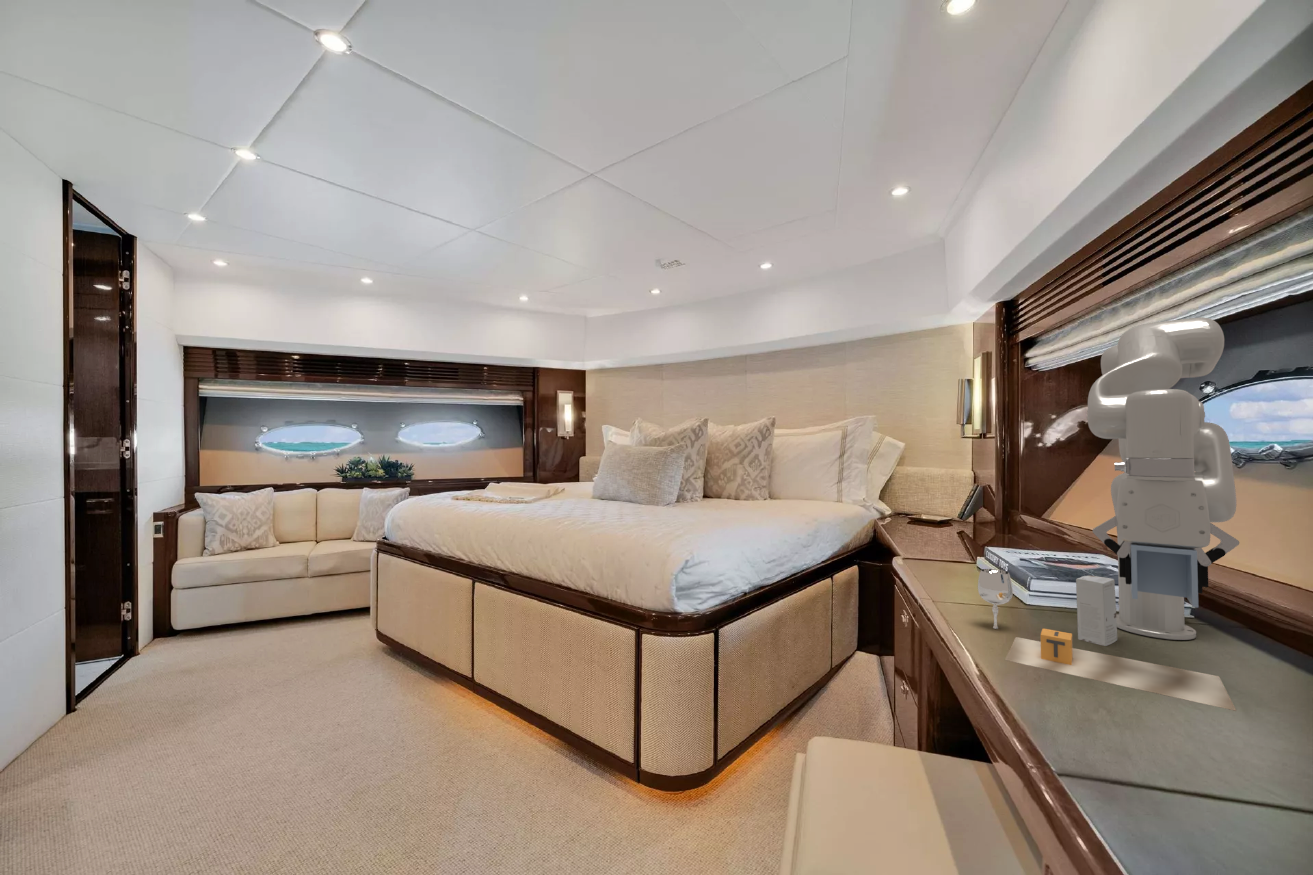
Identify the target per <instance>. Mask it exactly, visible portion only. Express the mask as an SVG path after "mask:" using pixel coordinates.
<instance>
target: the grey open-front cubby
mask: <svg viewBox="0 0 1313 875" xmlns="http://www.w3.org/2000/svg"><path fill="white" fill-rule="evenodd" d="M1130 558H1131V584H1130V590H1131V595H1132V599H1138V592H1137V591H1140V592H1148V593H1155V594H1163V595H1171V596H1178V597H1184V598H1187V601H1188V602H1189V603H1190V605H1191V607H1193V608H1199V593H1198V571H1197V551H1196V550H1195V549H1189V548H1183V547H1171V546H1159V545H1148V544H1137V543H1136V544H1131V551H1130Z"/></svg>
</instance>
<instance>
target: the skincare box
mask: <svg viewBox="0 0 1313 875" xmlns="http://www.w3.org/2000/svg"><path fill="white" fill-rule="evenodd" d="M1115 584H1116V582H1115V579H1114V578H1110V577H1109V578H1108V577H1103V576H1096V575H1084V576H1081V577H1078V578H1076V579H1075V585H1076V587H1075V588H1076V614H1077V616H1076V617H1077V618H1076V619H1077V640H1080V641H1083V642H1087V643H1090V644H1096V645H1098V646H1099V645H1100V646H1104V647H1106V646H1109V645H1112V644H1113V643H1115V642H1116V641H1118V628H1117V620H1116V614H1117V604H1116V602H1117V600H1116V589H1115V588H1116V586H1115Z"/></svg>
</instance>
